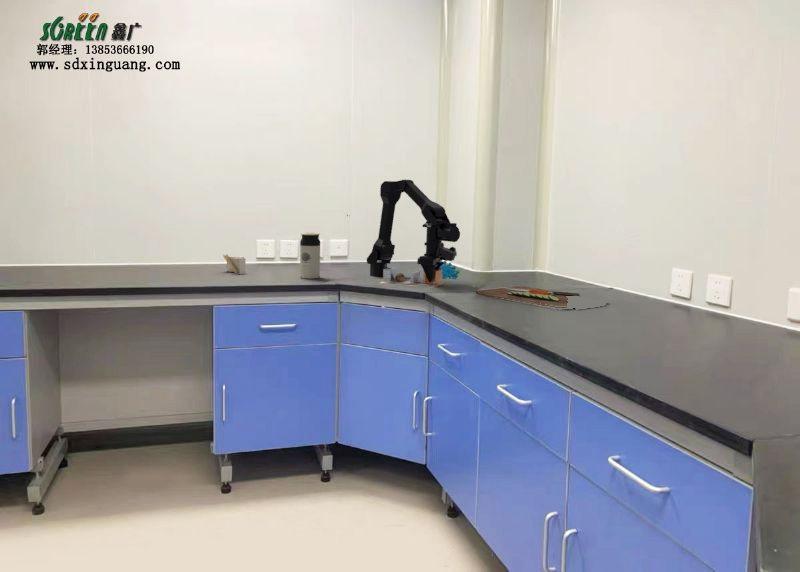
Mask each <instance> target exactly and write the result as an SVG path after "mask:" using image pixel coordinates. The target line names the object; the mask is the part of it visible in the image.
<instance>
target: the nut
mask: <svg viewBox="0 0 800 572" xmlns="http://www.w3.org/2000/svg"><path fill="white" fill-rule="evenodd" d="M405 277H406V275H405V274H404V273H403V272H399V273H398V274H397V275H396V277H395V278H396V281H398V282H403V281H404V279H406V278H405Z"/></svg>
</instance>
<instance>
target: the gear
mask: <svg viewBox="0 0 800 572" xmlns="http://www.w3.org/2000/svg"><path fill="white" fill-rule="evenodd" d="M443 262H445V263H444V264H443V265H442V266H441V267H440V270H442V279H445V280H446V279H447V278H448V280H457V278H458V277H459V274H460V272H461V270H460V269H458V270H456V269H457V268H456V265H454V266H452V263H451V262H448V261H445V260H443Z"/></svg>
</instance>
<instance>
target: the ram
mask: <svg viewBox="0 0 800 572" xmlns="http://www.w3.org/2000/svg"><path fill="white" fill-rule="evenodd" d="M442 276H443V275H442V270H434V273H433V278H432V282H428V279H427V277H426V274H425V272H424V271H423V276H421V271H418V270H416V271H413V272H410V283H414V284H415V283H417V282H421V283H423V284H431V285H436V287H439V286H441V285H443V284H442V282H443V278H442ZM440 284H441V285H440ZM438 285H439V286H438Z"/></svg>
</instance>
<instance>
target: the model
mask: <svg viewBox="0 0 800 572" xmlns="http://www.w3.org/2000/svg"><path fill="white" fill-rule="evenodd" d="M222 256H223V258H224V259H225V261H226V272H230V273H235V274H239V275H244V274H246V272H247V271H246V268H247V267H246V260H247V259H246V257H245V256H240V255H239V256H229V255H228V254H226V255H225V254H222Z"/></svg>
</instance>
